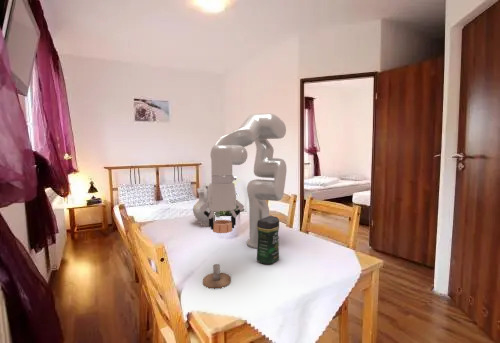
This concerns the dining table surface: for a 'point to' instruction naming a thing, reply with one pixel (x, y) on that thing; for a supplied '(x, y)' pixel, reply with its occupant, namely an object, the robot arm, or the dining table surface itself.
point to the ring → (222, 226)
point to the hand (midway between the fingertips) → (222, 227)
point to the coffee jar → (268, 240)
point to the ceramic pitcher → (202, 199)
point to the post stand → (216, 278)
